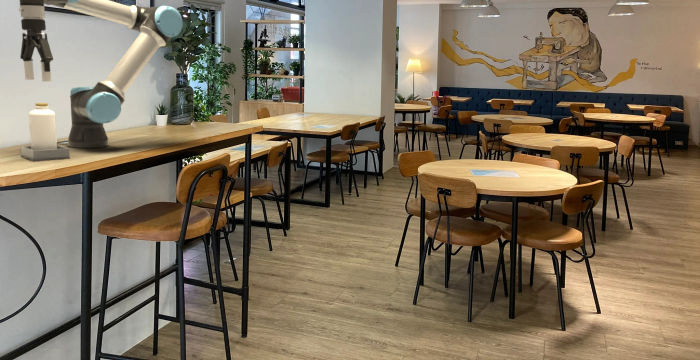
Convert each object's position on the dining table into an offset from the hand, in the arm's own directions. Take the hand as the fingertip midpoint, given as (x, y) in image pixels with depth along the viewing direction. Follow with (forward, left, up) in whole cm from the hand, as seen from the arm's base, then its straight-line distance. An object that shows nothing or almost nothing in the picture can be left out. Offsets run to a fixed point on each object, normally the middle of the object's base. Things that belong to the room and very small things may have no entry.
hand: (38, 80), depth 225 cm
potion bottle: (+2, +8, -26) cm, 27 cm away
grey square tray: (+2, +9, -26) cm, 28 cm away
